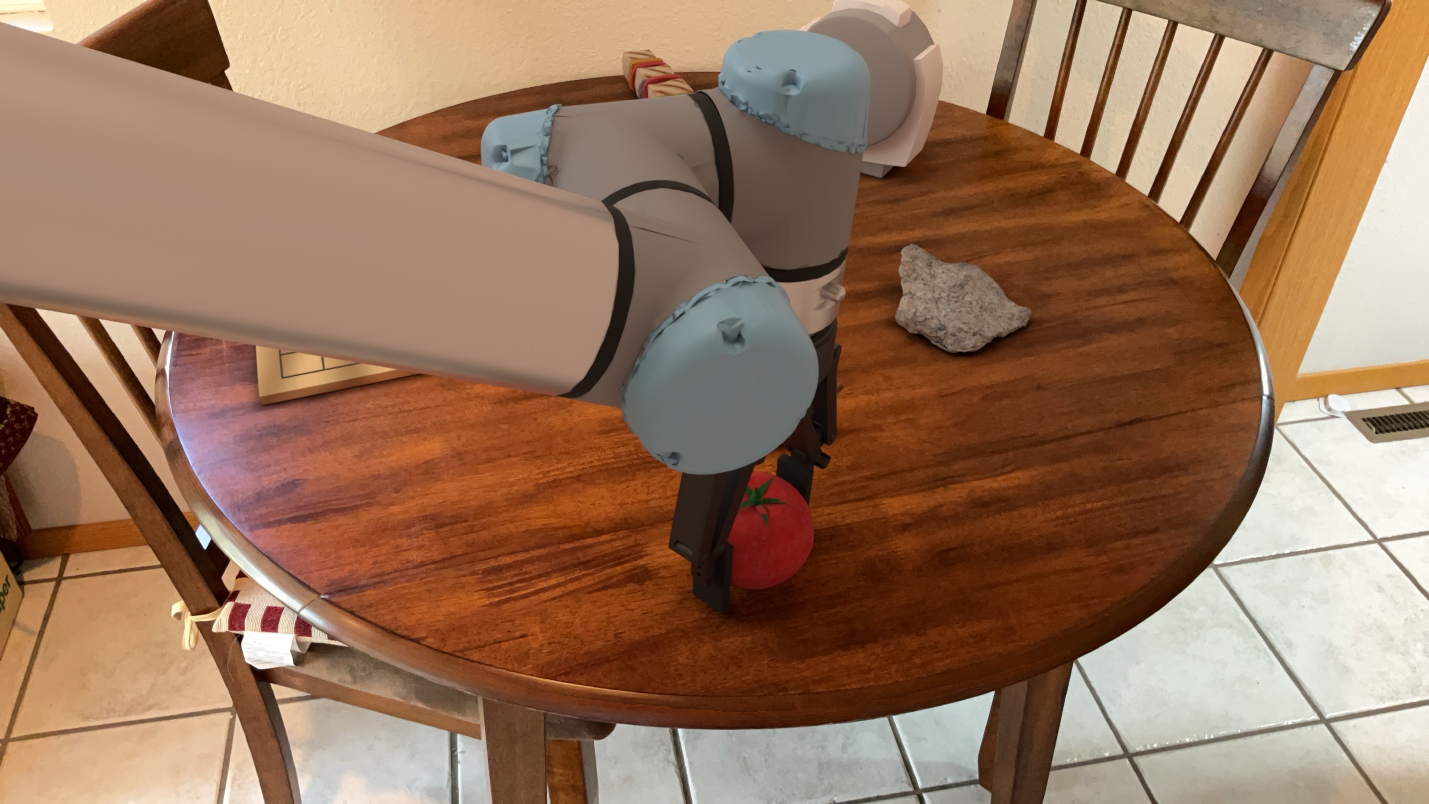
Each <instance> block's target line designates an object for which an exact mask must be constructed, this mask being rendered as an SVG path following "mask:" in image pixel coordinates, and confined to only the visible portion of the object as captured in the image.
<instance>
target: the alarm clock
mask: <svg viewBox="0 0 1429 804" xmlns="http://www.w3.org/2000/svg"><path fill="white" fill-rule="evenodd" d="M798 30H799V31H807V32H813V33H818V34H822V35H826V36H829V37H832V38H835V39H837V40H840V41H842V42H844V43H846V44H847V45H849V46H850V47H851V48H852V49H853V50H854V51H856V52H858V53H859V54H860V55H861V56H862V57H863V59H864V60H865V62H866V64H867V66H868V69H869V72H870V92H869V96H870V105H869V115H868V128H867V139H868V142H867V148H866V150H865V151H864V152H863V159H862V165H861V171H860V173H861V174H865V175H868V176H869V175H870V176H872V177H875V178H880V179H882V178H884V177H885V176H886V174H887V173H888V172H890V171H891V169H892V168H893V167H902V168H903V167H907V166H908V164H909V163H910V162H911V161H913V160H914V158H916V156H918V154H919V153H920V152H921V151H922V150H923V149H924V146H925V144H926V141H927V138H928V136H929V133H930V130H931V129H932V126H933V123H934V118H935V115H936V111H937V108H938V104H939V100H940V95H941V91H942V87H943V76H944V75H943V74H944V61H943V60H944V59H943V56H942V52H941V46H940V43H935V42H934V39H933V38H932V35H931V33H930V31H929V29H928V27H927V25H926V24H925V23H924V21H923V20H922V19H921V18H920V16H919V15H918V14H917V13H916V12H915V11H913V10H912V8H911V6H910V5H909V4H907V3H906V2H905V1H903V0H833V2H832V7H831V12H830V13H828V14H827V15H825V16H823V17H821V16H817V17H816V18H814V19H813V20H811V21H810V22H808V23H806V24H804V25H803V26H802V27H800V28H798Z"/></svg>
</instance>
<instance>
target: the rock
mask: <svg viewBox="0 0 1429 804" xmlns="http://www.w3.org/2000/svg"><path fill="white" fill-rule="evenodd" d="M900 255H901V256H900V265H899V267H898V274H899V277H900V279H901V280H900V286H901V289H902V296H901V298H900V301H899V303H898V304H899V305H898V307H897V309H896V312H895V316H894V318H895V322H896V323H897V324H898V325H899V326H900V327H902V328H903V329H906V331H907V332H908V333H910V334H913V335H921V336H924V337H925V338H926V339H927V340H929V341H930V342H931V343H932V344H933V345H935V346H936V347H938V348H939V349H943V350H945V351H946V352H947V353H953V354H955V353H960V352H962V353H967V352H976V351H978V350H980V349H981V348H983V347H985V345H986V344H988V343H991V342H992V340H993V339H996V338H997V337H998V338H1005V337H1006V336H1008V335H1009V334H1011V333H1013V332H1015V331H1017V330H1019V329H1021V328H1023V327H1026V326H1027V324H1028V322H1029V320H1030V319H1031V316H1032V310H1031V309H1030V308H1029V307H1027V306H1021V305H1018V304H1017V303H1015V302H1014V301H1013V300H1011V299H1009V298H1008V297H1007V296H1006V293H1005V291H1004V290H1003V289H1002V288H1001V286H1000V284H999V283H998V282H996V281H995V279H994V278H993V277H992V276H990V275H989V274H988V273H987V272H986V271H984V269H982V267H980V265H979V264H970V263H968V262H964V261H958V262H956V263H955V262H953V263H948V262H944V261H942V260H940V259H938V258H936V256H934V255H933V254H931V253H929V252H927V251H926V249H924V248H922V247H920V246H918V245H917V244H914V243H910V244H909V245H907V246H904V247H903V248H902V249H901V250H900Z"/></svg>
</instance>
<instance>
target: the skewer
mask: <svg viewBox="0 0 1429 804" xmlns="http://www.w3.org/2000/svg"><path fill="white" fill-rule="evenodd" d="M621 68H622V72H623V77H624V78H625V79H626V82H627V84H628V87H629V89H630V90H632V91H633V92H634V93H635V94H636V96H637V98H638V99H646V98H657V97H667V96H677V95H685V94H694V93H695V90H693V89H692V88H691V86H690V85H689V84H688V83H687V82H686V81H685V80H684V78H683V77H682V75H679V74H676V73H675V71H674V70H673V68H672V66H671V65H670V64H668V63H666V61H664V60H663V58H661V57H657V56H656V55H655V54H654V53H653V51H652V50H650V49H642V50H629V51H624V52H622V59H621Z"/></svg>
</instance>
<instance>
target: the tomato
mask: <svg viewBox="0 0 1429 804" xmlns="http://www.w3.org/2000/svg"><path fill="white" fill-rule="evenodd" d="M814 539H815V524H814V520H813V515H812V512H811V509H810V506H809V507H808V505H807V503H806V501H805V500H804V498H803V497H802V496H801V494H800V493H799V492H798V490H797V489H796V488H795V487H793V486H792V485H791V484H790V483H788V482H787V481H785V480H783V479H782V478H780V477H778V476H776V474H773V473H770V472H767V471H761V470H753V472H752V475H751V478H750V481H749V483H748V486H747V489H746V492H745V494H744V497H743V500H742V502H741V505H740V508H739V511H738V513H737V516H736V519H735V521H734V524H733V527H732V530H731V532H730V535H729V538H728V541H727V542H728V543H730V544H731V545H733V546H734V547H733V560H732V573H731V585H730V586H732V587H735V588H739V589H745V590H762V589H763V590H764V589H768V588H771V587H774V586H777V585H779V584H781V583H783V582H785V581H787V580H789V579H790V578H793V576H794V575H796V574H797V573H798V572H799V571H800V570H801V569H802V567H803V566H804V564H805V562H806V561H807V559H808V557H809V556H810V554H811V552H812V549H813V546H814Z"/></svg>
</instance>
